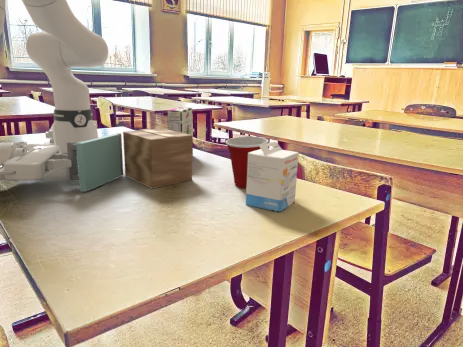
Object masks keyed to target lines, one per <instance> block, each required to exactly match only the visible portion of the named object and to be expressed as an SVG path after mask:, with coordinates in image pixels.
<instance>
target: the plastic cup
mask: <svg viewBox="0 0 463 347" xmlns="http://www.w3.org/2000/svg"><path fill="white" fill-rule="evenodd" d="M268 143H270V142H269V139H268V138H266V137H262V136H252V135H251V136H249V135H247V136H236V137H232V138H228V139H227V140H225V144H226V146H227V147H228V151H229V155H230V162H231V163H230V164H231V168H232V175H233V182H234V186H236V187H237V188H241V189H246V188H247V167H248V153H249V152H252V151H256V150H259V149H261V148H260V145H264V144H268Z"/></svg>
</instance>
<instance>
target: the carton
mask: <svg viewBox="0 0 463 347" xmlns="http://www.w3.org/2000/svg"><path fill="white" fill-rule="evenodd" d="M122 134H123V135H122V137H123V138H122V140H123V155H124V156H123V158H124V175H125V176H124V177H127V178H129V179H130V180H131V179H132V180H133V181H135V182H139V183H140V184H143V185H144V186H146V187H149V188H150V189H156V188H161V187H166V186H170V185H174V184H179V183H184V182H188V181H192V180H193V155H192V135H189V134H185V133H180V132H176V131H172V130H168V128H151V129H149V128H143V129H138V130H129V131H122Z"/></svg>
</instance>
